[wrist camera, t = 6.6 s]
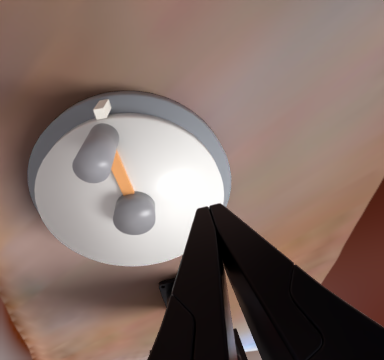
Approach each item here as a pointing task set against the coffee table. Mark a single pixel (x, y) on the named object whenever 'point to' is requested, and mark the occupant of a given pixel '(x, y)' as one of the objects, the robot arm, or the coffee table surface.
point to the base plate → (128, 103)
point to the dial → (126, 188)
